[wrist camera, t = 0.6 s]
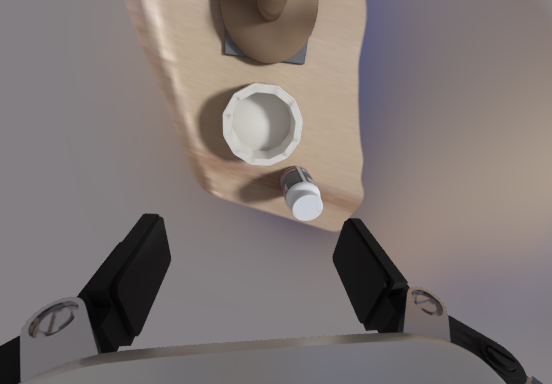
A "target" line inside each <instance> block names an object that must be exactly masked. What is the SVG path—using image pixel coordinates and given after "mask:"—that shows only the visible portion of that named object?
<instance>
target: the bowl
mask: <svg viewBox="0 0 552 384" xmlns="http://www.w3.org/2000/svg"><path fill="white" fill-rule="evenodd" d="M302 124H303V120H302V117H301V114H300V111H299V108H298V106H297V103H296V100H295V99H293V98H292V97H291V96H290V95H289V94H287V93H286V92H285V91H284V90H282V89H281V88H280V87H279V86H277V85H274V84H266V83H257V82H254V83H252V84H250V85H248V86H246V87H244V88H242V89H240V90H238V91H236V92H235V93H234V95H233V97H232V98H231V100H230V102H229V104H228V105H227V107H226V109H225V111H224V112H223V136H224V138H225V140H226V142H227V143H228V145H229V147H230V148H231V150H232V152H233V153H234V155H236V156H238V157H239V158H241V159H243V160H244V161H246V162H248V163H249V164H251V165H268V166H270V165H273V164H275V163H277V162H279V161H281V160H283V159H286V158H287V157H288V156H289V155H290V154H291V152H292V151H293V150H294V149H295V147H296V146H297V145H298V143H299V142H300V137H301V130H302Z"/></svg>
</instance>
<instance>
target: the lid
mask: <svg viewBox="0 0 552 384" xmlns="http://www.w3.org/2000/svg"><path fill="white" fill-rule="evenodd" d="M220 8H221V14H222V17H223V21H224V24H225V26H226V29H227V31H228V33H229V35H230V37H231V38H232V40H233V41H234V43H235V44H236V45H237V47H238V48H239V49H240V50H241V51H242V52H243V53H244V54H246V55H247V56H248V57H250V58H252V59H254V60H256V61H259V62H262V63H278V62H282V61H284V60H287V59H289V58H290V57H292V56H294V55H295V54H296V53H297V52H299V50H300V49H301V48H302V47H303V46H304V45H305V43H306V42H307V40H308V39H309V37H310V35H311V33H312V30H313V28H314V25H315V22H316V17H317V12H318V0H220Z"/></svg>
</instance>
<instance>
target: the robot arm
mask: <svg viewBox="0 0 552 384" xmlns="http://www.w3.org/2000/svg"><path fill="white" fill-rule="evenodd" d="M170 262H171V254H170V249H169V244H168V240H167V235H166V230H165V226H164V220H163V218H162V217H159V215H158V214H143V215H142V217H141V218H140V219H139V220H138V222H137V223H136V224H135V226H134V227H133V228H132V230H131V231H130V232H129V234H128V235H127V236H126V237H125V239H124V240H123V241H122V242H120V243H119V244H118V245H117V246H116V247H115V249H114V250H113V251H112V252H111V254H110V255H109V256H108V257H107V259H106V260H105V261H104V263H103V264H102V265H101V266H100V268H99V269H98V270H97V272H96V273H95V274H94V275H93V277H92V278H91V279H90V280H89V282H88V283H87V285H86V286H85V287H84V288H83V289H82V291H81V292H80V293H79V295H78V296H77V297H68V298H62V299H59V300H57V301H54V302H52V303H50V304H48V305H46V306H45V307H43V308H41V309H40V310H39V311H37V312H36V313H34V314H33V315H32V316H31V318H29V319H28V320H27V321H26V323H25V325H24V326H23V328H22V330H21V334H20V336H18V337H16V338H14V339H12V340H11V341H9V342H7V343H5V344H3V345H1V346H0V384H542V383H541V382H540V381H538V380H537V379H536V378H534V377H533V376H532V377H530V378H529V377H527V376H526V373H525V371H524V369H523V367H522V366H521V364H520V363H519V362H518V360H517V359H516V358H515V357H514V356H513V355H512V354H511V353H510V352H509V351H507V350H506V349H505V348H504V347H502V346H501V345H499V344H498V343H496V342H495V341H493V340H491V339H489V338H487V337H486V336H484V335H482V334H481V333H479V332H477V331H475V330H474V329H472V328H470V327H468V326H467V325H465V324H463V323H461V322H460V321H458V320H456V319H454V318H453V317H451V316H449V315H448V312H447V308H446V307H445V305H444V303H443V302H442V301H441V300H440V299H439V298H438V297H437V296H436V295H434V294H433V293H432V292H430V291H428V290H426V289H424V288H421V287H411V288H409V286H408V285H407V283H408V282H407V281H406V279H405V278H404V276H403V275H402V274H401V273H400V272H399V270H398V269H397V267H396V266H395V265H394V263H393V262H392V261H391V259H390V258H389V257H388V255H387V254H386V253H385V251H384V250H383V249H382V247H381V246H380V245H379V243H378V242H377V241H376V239H375V238H374V237H373V235H372V234H371V233H370V231H369V230H368V229H367V228H366V226H365V225H364V223H363V222H362V221H361V220H360V219H358V218H349V219H348V220H347V221H345V222H344V224H343V227H342V230H341V233H340V236H339V239H338V242H337V245H336V248H335V251H334V253H333V263H334V265H335V267H336V269H337V272H338V274H339V276H340V279H341V281H342V283H343V285H344V287H345V290H346V292H347V295H348V297H349V299H350V301H351V304H352V306H353V308H354V311H355V313H356V315H357V318H358V320H359V321H360V323H363V325H364V327H365V329H366V331H369V330H377V331H378V333H373V334H352V335H335V336H318V337H302V338H286V339H271V340H256V341H243V342H226V343H212V344H198V345H184V346H170V347H159V348H148V349H137V350H126V351H119V352H117V350H118V348H119V346H131V344H132V342H133V340H134V337H135V336H138V335H139V334H140V332H141V331H142V328H143V326H144V324H145V321H146V319H147V316H148V314H149V311H150V309H151V307H152V305H153V302H154V300H155V298H156V295H157V293H158V291H159V288H160V286H161V284H162V281H163V279H164V277H165V274H166V272H167V269H168V267H169V265H170Z"/></svg>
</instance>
